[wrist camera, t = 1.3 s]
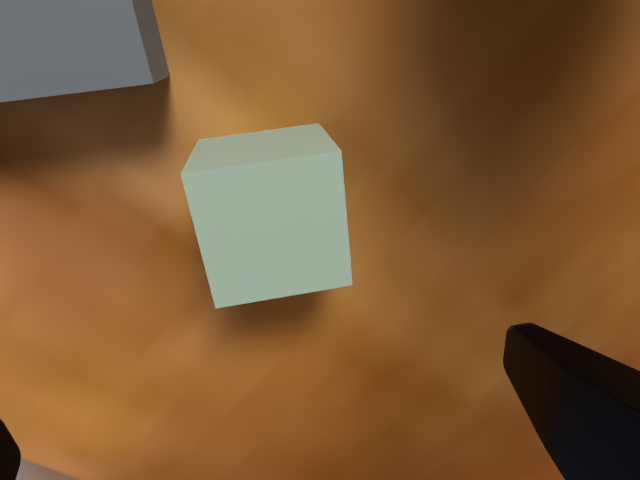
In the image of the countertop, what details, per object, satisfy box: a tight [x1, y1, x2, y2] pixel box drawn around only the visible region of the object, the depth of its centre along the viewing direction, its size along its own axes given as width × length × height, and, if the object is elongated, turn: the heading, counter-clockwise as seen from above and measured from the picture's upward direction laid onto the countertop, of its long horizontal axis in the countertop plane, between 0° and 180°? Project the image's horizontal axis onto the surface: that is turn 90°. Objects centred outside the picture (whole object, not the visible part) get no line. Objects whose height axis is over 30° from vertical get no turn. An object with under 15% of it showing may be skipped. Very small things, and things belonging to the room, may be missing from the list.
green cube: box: [181, 123, 352, 309], centre depth 16 cm, size 5×5×5 cm
